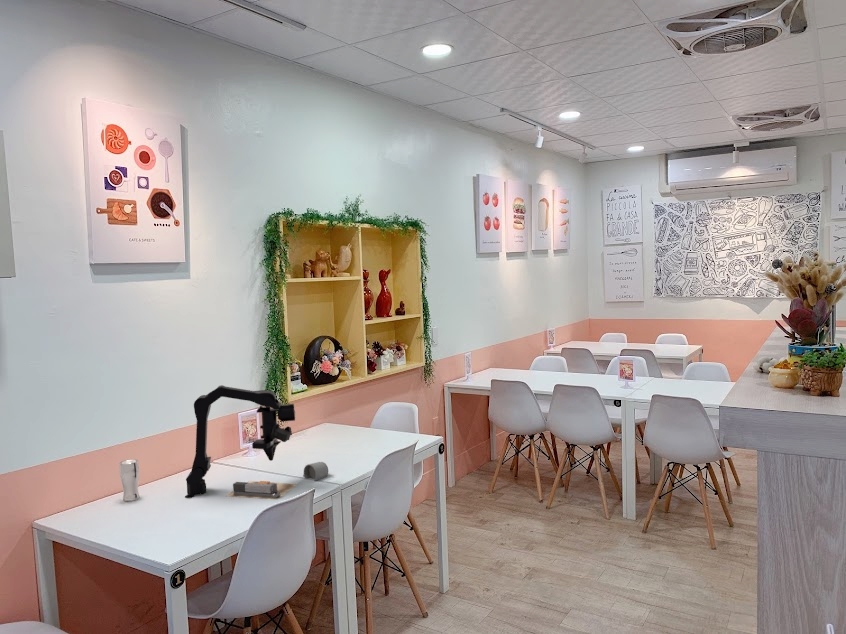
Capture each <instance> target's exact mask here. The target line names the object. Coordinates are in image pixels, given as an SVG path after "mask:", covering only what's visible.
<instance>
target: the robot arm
mask: <svg viewBox="0 0 846 634" xmlns="http://www.w3.org/2000/svg"><path fill="white" fill-rule="evenodd" d="M220 398H228V399H234V400H241V401H246V402H252V403H254V404H257V405H259V407H258V408H257V410H256V413H257V414H258V413H261V425H260V427H259V429H262V435H260V438H258V439H256V440H254V441H253V442H252V444H251V445H252V446H251V447H252V449H253V450H254V449H258V450H263V452H264V453H265V455H266V457H267V458H268V460H269V461H270V462H271V461H273V460H274V457H275V454H276V453H275V452H276V449H277V446H278V445H279V444H280V443H281V442H282V443H286V442H287V441H290V438H291V436H292V435H293V433H292V431H293V430H292V427H290V426H286V427H283V428H282V427H281V426H280V423H278V422H277V419H278V420H279V421H280V422H295V421H296V410H295V404H294V403H289V404H282V403H280V401H279V400H278V399H277V395H276V393H275V392H274V390H271V389H270V390H269V389H266V390H265V389H264V390H262V389H261V390H251V389H242V388H238V387H237V388H236V387H232V386H231V387H230V386H226V385H222V384H221V385H218V386H217V387H216V388H215V389H212V391H210V392H208V393H207V394H202V395H200V396H199V397H197V398H196V400H195V401H194V403H193V410H194V415H195V418H196V429H195V430H196V432H195V436H196V437H195V455H194V460H193V463H192V467H191V469H190V470H191V471H190V472H189V473H188V475H187V476H186V478H185V481H186V495H185V496H184V498H187V499H188V498H189V499H193V498H194V497H195V496H198V495H205V494H206V493H207V483H206V480H205V479H204V477H206V475H207V473H208V472H209V470H210V468H211V466H212V465H211V459H212V456H208V453H207V445H208V440H207V439H208V418H209V415H210V412H211V408H212V404H214V403H215V402H216V401H217V400H219V399H220Z"/></svg>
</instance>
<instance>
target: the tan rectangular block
mask: <svg viewBox="0 0 846 634" xmlns="http://www.w3.org/2000/svg"><path fill="white" fill-rule="evenodd" d="M257 482H258V483H259V484H270V482H271V481H267V480H260V481H257Z"/></svg>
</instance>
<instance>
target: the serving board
mask: <svg viewBox="0 0 846 634" xmlns="http://www.w3.org/2000/svg"><path fill="white" fill-rule="evenodd" d="M247 482H248V483H258V482H259V481H254V480H249V481H247ZM270 484H277V492H280V497H279V498H276V499H272V498H265V497H251V496H236V495H234V493H233V492H234V491H231V492H230V493H228V494H227V495H226V497H231V498H232V497H233V498H247V499H263V500H273V501H274V500H279V499H280V498H282V497H283V496H284V495H285V494H287V493H288V492H289V491H291V490H292V489H294V487H296V486H298V483H285V482H271V481H270Z"/></svg>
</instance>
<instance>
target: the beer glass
mask: <svg viewBox="0 0 846 634" xmlns="http://www.w3.org/2000/svg"><path fill="white" fill-rule="evenodd" d="M119 477H120V482H121V485H122V488H123V489H122V490H123V494H122V495H123V497H122V501H124V502H127V503H128V502H129V503H130V502H134V501H137V500H139V499H140V493H139V481H140V465H139V460H138V459H135V458H134V459H132V458H131V459H127V460H125V459H124V460H122V461H120V462H119Z"/></svg>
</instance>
